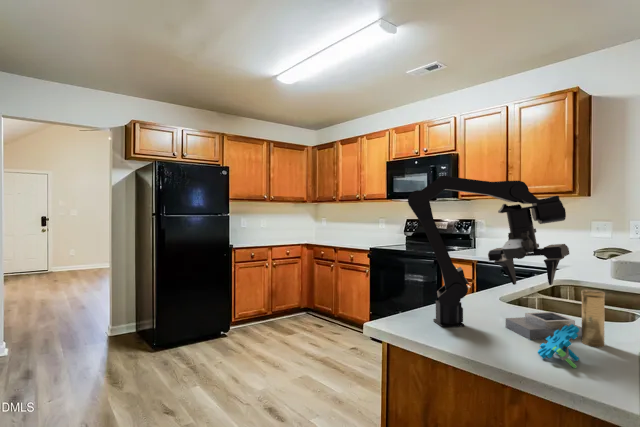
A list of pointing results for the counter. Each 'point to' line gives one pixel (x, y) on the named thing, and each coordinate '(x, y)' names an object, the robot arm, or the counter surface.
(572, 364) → the blue green toy
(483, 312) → the counter surface
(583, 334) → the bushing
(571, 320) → the jig
